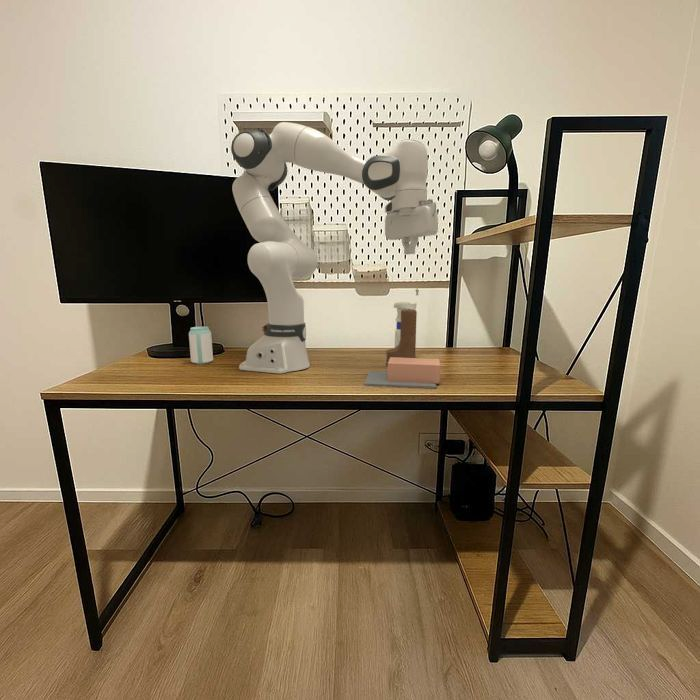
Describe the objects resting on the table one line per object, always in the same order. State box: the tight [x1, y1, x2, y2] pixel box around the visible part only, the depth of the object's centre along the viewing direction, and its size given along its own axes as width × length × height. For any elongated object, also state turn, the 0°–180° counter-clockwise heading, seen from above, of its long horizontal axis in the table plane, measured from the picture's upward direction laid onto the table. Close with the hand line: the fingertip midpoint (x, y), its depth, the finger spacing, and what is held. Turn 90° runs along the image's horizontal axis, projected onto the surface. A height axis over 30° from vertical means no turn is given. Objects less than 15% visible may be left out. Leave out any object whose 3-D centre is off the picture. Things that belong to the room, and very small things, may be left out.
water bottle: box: [393, 287, 420, 349], centre depth 141 cm, size 8×9×25 cm
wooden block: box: [386, 309, 418, 365], centre depth 129 cm, size 9×4×18 cm, turn 90°
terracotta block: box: [387, 357, 441, 384], centre depth 110 cm, size 5×8×14 cm
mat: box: [363, 370, 437, 389], centre depth 111 cm, size 19×14×1 cm
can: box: [188, 326, 214, 365], centre depth 133 cm, size 7×7×12 cm
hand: (409, 254), depth 113 cm, fingers closed
